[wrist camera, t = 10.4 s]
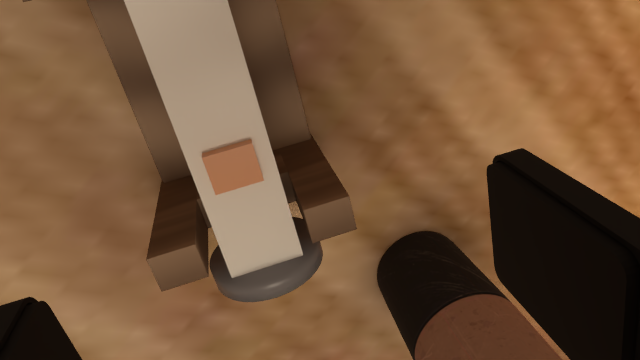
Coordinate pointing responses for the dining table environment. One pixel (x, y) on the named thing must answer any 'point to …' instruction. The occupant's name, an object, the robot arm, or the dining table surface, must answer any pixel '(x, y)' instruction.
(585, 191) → the robot arm
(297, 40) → the dining table surface
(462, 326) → the travel mug
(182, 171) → the walnut rack
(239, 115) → the white bar grey caps
